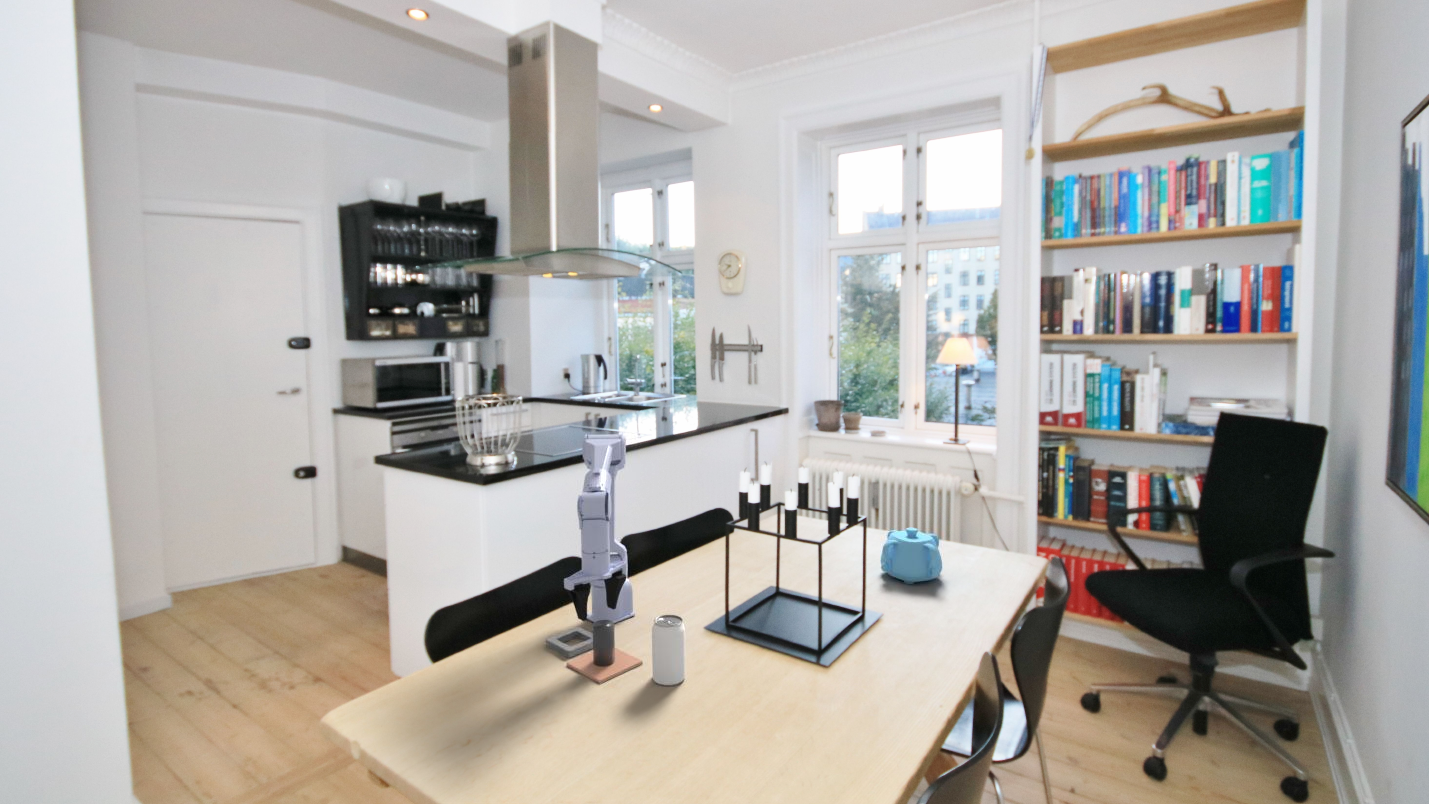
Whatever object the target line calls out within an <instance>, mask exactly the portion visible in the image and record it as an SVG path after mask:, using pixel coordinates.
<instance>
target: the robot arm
mask: <svg viewBox="0 0 1429 804" xmlns="http://www.w3.org/2000/svg"><path fill="white" fill-rule="evenodd" d="M626 442H627V441H626V436H625V435H624V433H620V434H617V433H616V434H615V433H614V434H611V433H610V434H588V433H587V434H586V433H585V434H584V436H583V437H582V444H581V447H582V448H581V449H582V450H581V451H582V452H581V453H582V459H583V460H584V464H585V466H586V469H588V470H589V471H588V472H587V473H586V474H585V476H584V482H583V488H582V494H581V495H580V494H579V495H578V496H577V504H576V508H577V509H576V513H577V517H578V528H579V530H580V544H581V547H580V549H581V569H580V570H579V571H577V572H575V573H573V574H572V575H570V576H569V577H565V578H564V579H563V586H564V589H565V591H566V593H567V594H568V595H569V597H570V599H571V601H572V603H573V606H574V609H575V612H576V616H577V619H578V620H581V621H582V622H585V621H587V620H588V621H590V622H592V623H594V622H596V621H599V620H610V621H613V622H614V624H616V623H619V622H621V621H623V620H626V619H628V618H631V617H633V616H635V615H636V613H635V612H634V601H633V600H634V596H633V595H634V594H633V593H634V591H633V586H632V583H631V581H630V580H629V579H628V567H629V566H628V553H627V552H628V550H627V548H626V546H625V545H624V544H622V543H621V542H619V541H618V540H617V539H616V478H617V475H618V471H620V470H623V469H625V465H626V463H627V462H626V455H627V454H626V453H627V452H626V451H627V445H626V444H627V443H626ZM611 553H612V554H611ZM585 584H589V585H590V587H591V589H588V588H586V586H584V585H585ZM590 592H591V613H588V602H589V596H590Z"/></svg>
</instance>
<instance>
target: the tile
mask: <svg viewBox="0 0 1429 804" xmlns="http://www.w3.org/2000/svg"><path fill="white" fill-rule="evenodd" d="M641 665H643V660H642V659H639V658H637V657H635V656H633V655H631V654H629V653H627V652H625V651H623V650H620V649H619V648H616V647H615V662H614V663H613V664H612V665H609V666H605V667H600V666H596V665H595V664H594V663H593V651H591V652H589V653H587V654H584V655H582V656H579V657H576V658H574V659H572V660H569V661H567V662H566V666H567V667H569V668H570V669H572V670H575V671H577V672H578V673H580V674H582V675H584V676H585V677H587V678H589V679H591V680H593V681H594V682H596V683H598V684H602V683H604V682H607V681H609V680H611V679H613V678H615V677H617V676H619V675H621V674H624V673H626V672H628V671H630V670H633V669H634V668H637V667H639V666H641Z"/></svg>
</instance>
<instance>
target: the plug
mask: <svg viewBox="0 0 1429 804" xmlns="http://www.w3.org/2000/svg"><path fill="white" fill-rule="evenodd" d="M592 634H593V649H592V652H593V663H594V664H595V665H596V666H600V667H605V666H609V665H612V664H613V663H614V662H615V648H616V647H615V645H616V644H615V623H614V622H613V621H610V620H599V621H596V622H592Z"/></svg>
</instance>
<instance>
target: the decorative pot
mask: <svg viewBox="0 0 1429 804" xmlns="http://www.w3.org/2000/svg"><path fill="white" fill-rule="evenodd" d="M886 536H887V537H886V542H885V543H884V544H883V546H882V551H881V556H880V565H881V566H880V568H881V570H882V572H884V573H887V574H888V575H889V576H891V577H893V578H895V579H898V580H902V581H903V583H905V584H909V585H913V584H914V583H919V582H925V581H932V580H935V579H937V577H939V576H940V574H941V573H942V570H943V561H942V560H943V559H942V555H941V552H940V550H939V545H940V539H939V536H938V535H936V534H935V533H924V532H921V531H919V529H918V528H916V527H907V528H905V530H897V529H892V530H890V531H888V533H887V535H886Z"/></svg>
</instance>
